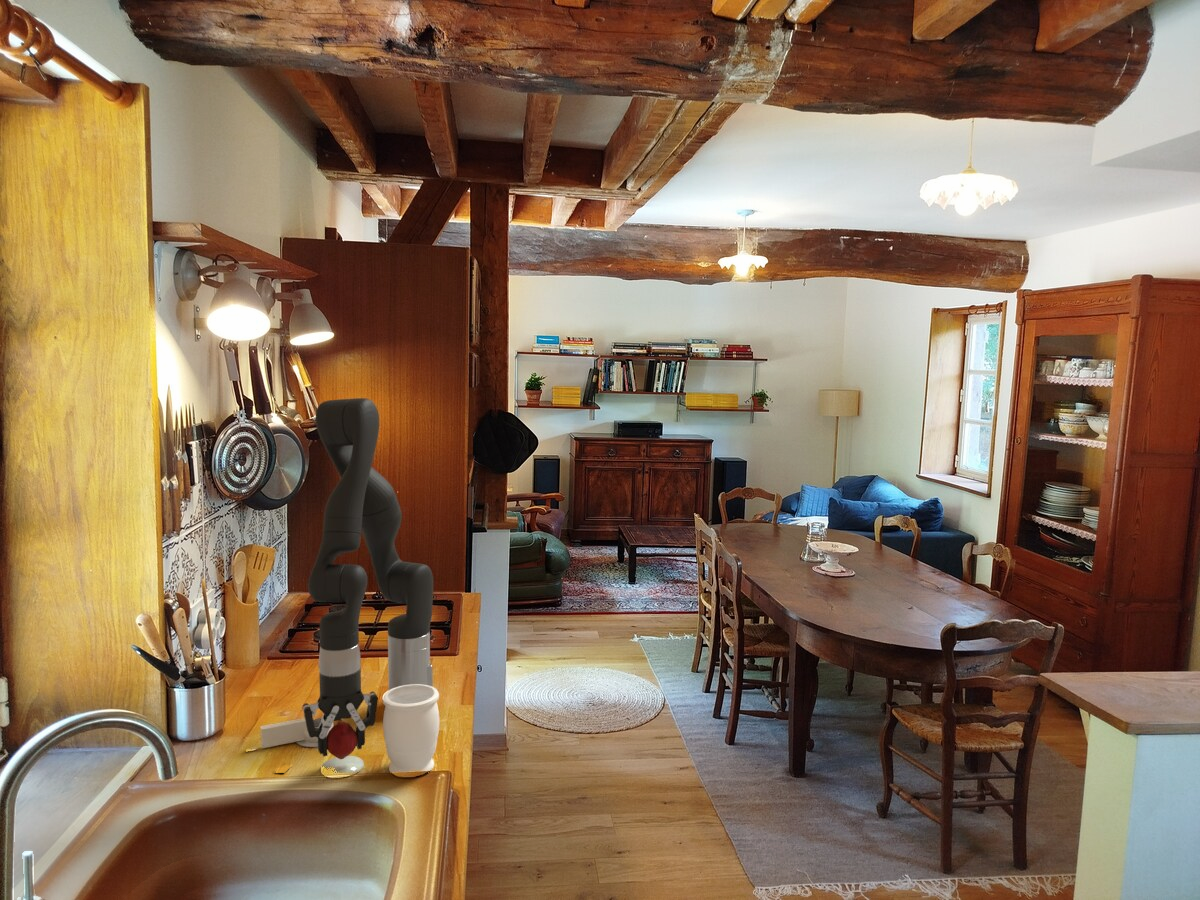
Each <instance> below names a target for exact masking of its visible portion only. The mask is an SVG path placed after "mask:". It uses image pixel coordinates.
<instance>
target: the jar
mask: <svg viewBox="0 0 1200 900" xmlns="http://www.w3.org/2000/svg"><path fill="white" fill-rule="evenodd" d="M382 695H383V696H382V703H383V705H384V706H385V707H384V712H383V720H382V731H383V738H384V743H385V749H386V754H387V756H388V759H389V761H390V764H389V767H388V770H389V773H391V772H409V771H430V770H431V771H432V770H433V769H434V767H435V761H434V759H433V757H434V755H435V752H436V749H437V744H438V736H439V731H440V712H439V707H438V706H439V705H438V701H439V698H440V693H439V690H438V689H437V688H436V687H435V686H433V687H432V686H429V685H424V684H409V685H403V686H398V687H395V688H393V689H390V690H389V689H388V690H387V691H386V692H384V693H383V694H382ZM431 771H430V772H431Z"/></svg>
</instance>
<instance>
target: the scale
mask: <svg viewBox="0 0 1200 900" xmlns="http://www.w3.org/2000/svg"><path fill="white" fill-rule="evenodd" d="M295 743H296V744H297V745H298V746H300V747H303V748H308V747H310V748H309V749H312V748H311V747H313V748H314V747H315V748H318V742H307V741H305V740H302V741H297V742H295ZM251 748H252V749H257V747H251ZM315 748H314V749H315ZM246 749H247V748H246ZM246 749H244V751H245V750H246ZM252 749H251V750H252Z"/></svg>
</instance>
